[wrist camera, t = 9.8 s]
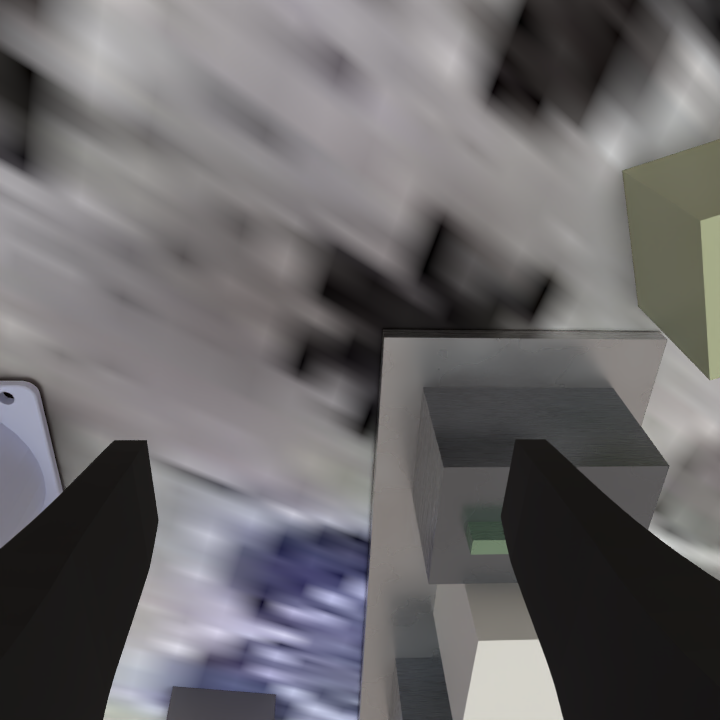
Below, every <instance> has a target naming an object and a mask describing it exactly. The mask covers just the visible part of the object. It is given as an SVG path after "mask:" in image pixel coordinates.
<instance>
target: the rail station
mask: <svg viewBox="0 0 720 720" xmlns="http://www.w3.org/2000/svg"><path fill="white" fill-rule="evenodd" d="M666 343H667V339H666V338H665V337H664V336H663V335H662V334H661V332H622V331H507V330H392V329H383V334H382V350H381V366H380V381H379V397H378V413H377V429H376V445H375V460H374V476H373V492H372V508H371V524H370V539H369V555H368V571H367V587H366V603H365V618H364V634H363V650H362V666H361V682H360V698H359V713H358V720H453V719H452V714H451V708H450V703H449V697H448V692H447V686H446V681H445V675H444V670H443V665H442V659H441V654H440V648H439V643H438V637H437V632H436V627H435V621H434V616H433V611H434V604H435V597H436V589H437V584H482V583H518V582H517V579H516V577H515V574H514V571H513V568H512V565H511V562H510V558H509V553H508V549H507V545H506V541H505V536H504V531H503V526H502V521H501V512H502V507H503V501H504V496H505V491H506V486H507V481H508V475H509V470H510V465H511V460H512V454H513V449H514V444H515V439H546V440H547V441H548V442H549V443H550V444H551V445H553V446H554V447H555V448H556V449H557V450H558V451H559V452H560V453H561V454H562V455H563V456H564V457H566V458H567V459H568V460H569V461H570V462H571V463H572V464H573V465H574V466H575V467H576V468H577V469H578V470H579V471H580V472H582V473H583V474H584V475H585V476H586V477H587V478H588V479H589V480H590V481H591V482H592V483H593V484H594V485H596V486H597V487H598V488H599V489H600V490H601V491H602V492H603V493H604V494H606V495H607V496H608V497H609V498H610V499H611V500H612V501H613V502H615V503H616V504H617V505H618V506H619V507H620V508H622V509H623V510H624V511H625V512H626V513H628V514H629V515H630V516H631V517H632V518H633V519H635V520H636V521H637V522H638V523H640V524H641V525H642V526H643V527H645V528H646V529H647V530H648V528H649V525H650V522H651V519H652V516H653V513H654V510H655V507H656V504H657V501H658V498H659V495H660V492H661V490H662V487H663V484H664V481H665V478H666V475H667V472H668V469H669V465H668V463H667V462H666V461H665V459H664V458H663V457H662V455H661V454H660V452H659V451H658V450H657V448H656V447H655V445H654V444H653V443H652V441H651V440H650V438H649V437H648V436H647V434H646V433H645V431H644V430H643V429H642V427H641V425H642V422H643V419H644V415H645V412H646V409H647V406H648V402H649V399H650V396H651V392H652V389H653V386H654V382H655V379H656V376H657V373H658V369H659V366H660V363H661V359H662V356H663V353H664V349H665V346H666Z"/></svg>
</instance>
